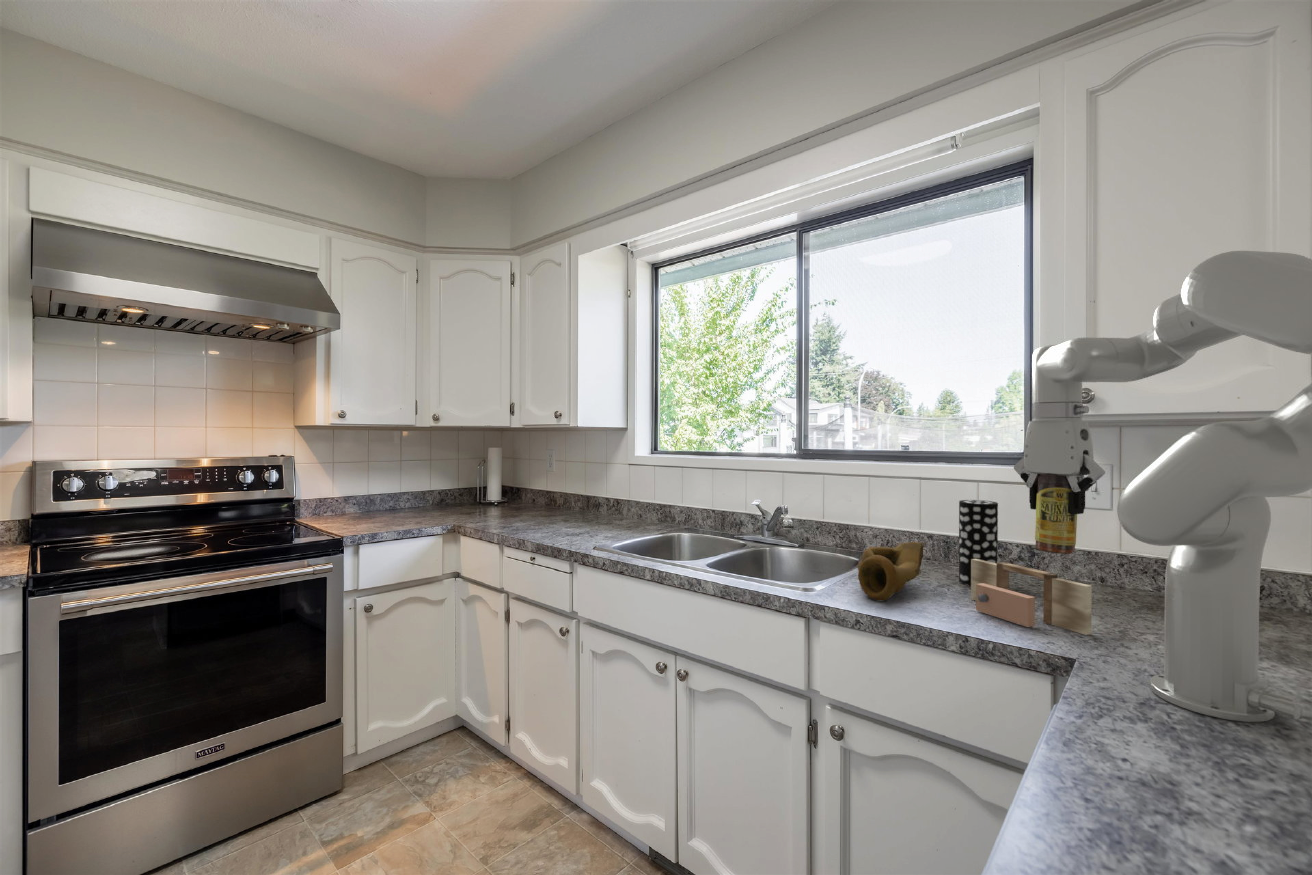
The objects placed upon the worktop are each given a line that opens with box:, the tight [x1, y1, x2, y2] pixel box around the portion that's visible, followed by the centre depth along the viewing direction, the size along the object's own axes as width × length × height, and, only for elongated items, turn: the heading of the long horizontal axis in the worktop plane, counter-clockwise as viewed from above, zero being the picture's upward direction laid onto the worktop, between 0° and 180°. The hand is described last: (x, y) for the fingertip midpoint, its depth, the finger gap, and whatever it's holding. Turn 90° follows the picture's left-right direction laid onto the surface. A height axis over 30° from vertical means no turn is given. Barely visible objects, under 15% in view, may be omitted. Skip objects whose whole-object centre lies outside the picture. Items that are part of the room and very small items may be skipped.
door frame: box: [970, 559, 1093, 636], centre depth 118 cm, size 24×2×10 cm, turn 22°
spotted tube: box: [958, 499, 999, 587], centre depth 142 cm, size 8×8×20 cm
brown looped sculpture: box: [857, 541, 924, 602], centre depth 138 cm, size 18×13×22 cm
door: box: [975, 583, 1036, 628], centre depth 115 cm, size 11×3×6 cm, turn 22°
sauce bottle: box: [1034, 473, 1078, 555], centre depth 106 cm, size 6×6×20 cm
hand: (1056, 510), depth 106 cm, fingers closed on sauce bottle, 6 cm apart
